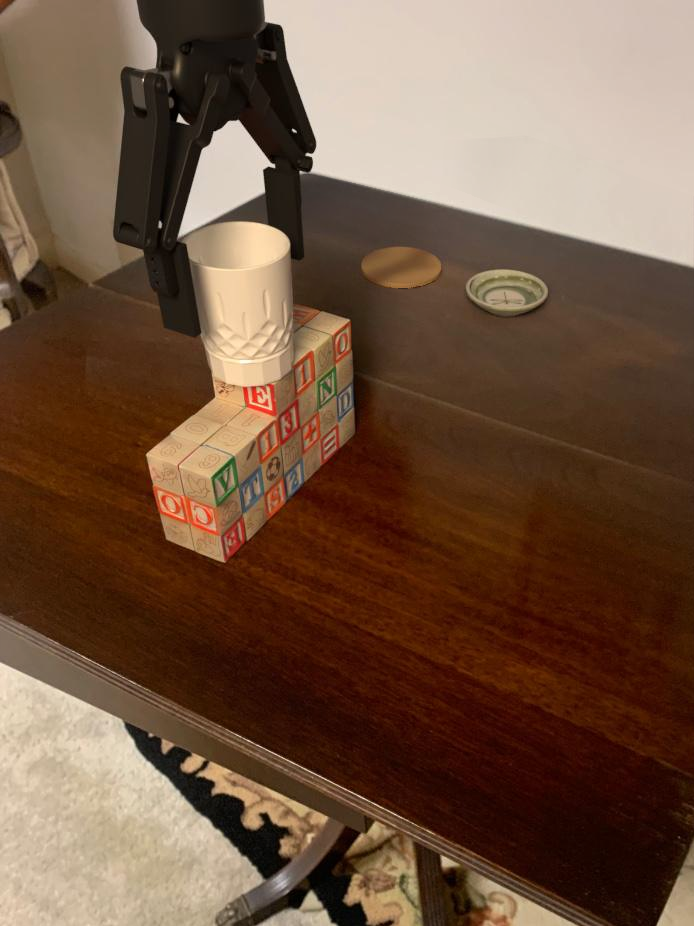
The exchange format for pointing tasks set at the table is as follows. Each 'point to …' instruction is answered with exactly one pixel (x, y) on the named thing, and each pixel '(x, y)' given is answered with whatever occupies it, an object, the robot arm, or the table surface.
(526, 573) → the table surface
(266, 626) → the table surface
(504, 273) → the saucer
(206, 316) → the white cup
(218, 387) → the stack of blocks
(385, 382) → the table surface
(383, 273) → the cork coaster
